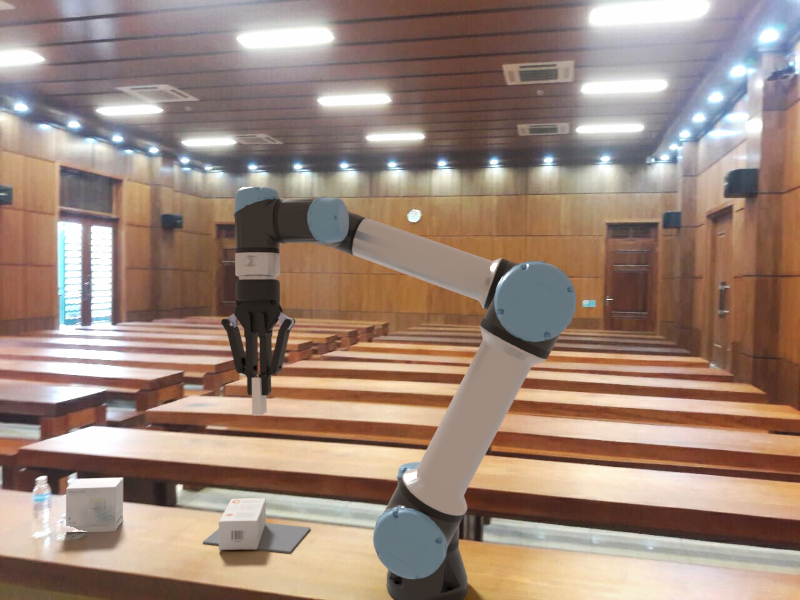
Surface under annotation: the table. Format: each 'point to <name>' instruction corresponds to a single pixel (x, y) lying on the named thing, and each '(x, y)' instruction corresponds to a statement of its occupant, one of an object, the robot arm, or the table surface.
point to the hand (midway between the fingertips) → (259, 413)
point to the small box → (242, 524)
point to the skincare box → (95, 504)
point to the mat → (273, 537)
